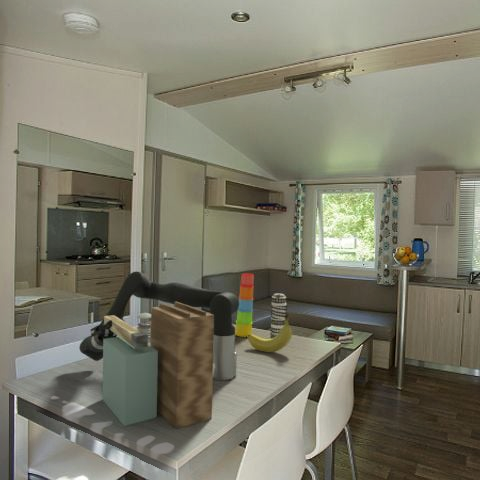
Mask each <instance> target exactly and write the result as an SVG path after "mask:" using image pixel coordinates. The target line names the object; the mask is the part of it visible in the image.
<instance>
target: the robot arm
mask: <svg viewBox="0 0 480 480" xmlns="http://www.w3.org/2000/svg"><path fill="white" fill-rule="evenodd" d="M119 289H120V290H119V291H118V294H117V295H116V297H115V300H114V301H113V303H112V304H111V307H110V309H109V310H108V312H107V314H106V315H105V316H111V315H114V316H116V317H118V318H119V319H121V320H123V321H124V322H126V321H125V319H124V316H125V312H126V308H127V306H128V303H129V301H130V299H131V297H132V296H134V297H136V298H140V299H145V298H146V299H147V300H149V299H150V300H155V301H159V302H162V303H163V302H164V303H165V304H166V303H167V304H171V305H174V302H179V303H182V304H185V305H188V306H191V307H194V308H205V309H207V308H208V309H209V313H210V314H213V315H214V341H213V363H214V364H215V368H214V373H213V380H216V381H229V379H230V380H232V379H234V378H235V377H234V376H236V377H237V357H238V354H237V352H236V350H235V349H236V348H235V347H236V346H235V345H236V344H235V343H236V341H235V340H236V335H235V332H236V326H234V325H233V321H232V320H233V319H232V318H233V317H232V315H233V314H234V313H236V312H238V310H237V309H238V307H239V298H238V296H236V295H235V294H234V293H232V292H228V291H217V290H216V291H215V290H210V289H205V288H201V287H197V286H195V285H189V284H186V283H180V282H170V283H164V284H163V283H157V282H154V281H151V280H149V279H148V278H147V277H146V276H145V275H144V274H143V273H142V272H140V271H138V270H137V271H132V272H131V273H129V274H128V275H127V277H126V278H125V280H124V281H123V284H122V285H121V287H120V288H119ZM111 327H112V320H109V321H108V322H107V323H105V324H104V318H103V319H102V320H101V322H100V324H98V325H96V326H95V327H92V328H90V335H89V336H86V337H85V338H84V339H83V340H82V341H81V342H80V344H79V351H80V353H81V354H83V355H85V356H86V357H88V358H90V360H91V359H92V360H93V361H95V362H98V361H101V360H103V339H106V338H114V337H118V335H116V334H115V333H113V332H112V331H111V330H109V329H110V328H111ZM233 377H234V378H233ZM231 378H232V379H231Z"/></svg>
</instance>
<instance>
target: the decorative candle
mask: <svg viewBox="0 0 480 480" xmlns="http://www.w3.org/2000/svg"><path fill="white" fill-rule="evenodd" d="M269 306H270V308H269V309H270V319H271V322H270V323H271V324H270V328H269V329H270V333H269V335H270V336H269V339H272V338H274V337H276V336H277V335H278V334H279V332H280V331H281V329H282V328H283V326H284V324H285V318H284V317H285V316H286V314H287V313H288V312H286V311H287V310H288V305H287V296H286V295H285V294H284V293H277V292H276V293H273V295H272V296H271V304H270V305H269Z"/></svg>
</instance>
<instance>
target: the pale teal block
mask: <svg viewBox="0 0 480 480" xmlns="http://www.w3.org/2000/svg"><path fill="white" fill-rule="evenodd" d="M157 370H158V351H157V350H155V349H154V348H152V347H151V345H147V347H142V348H134V347H133V346H132V345H130V344H129V343H128V342H126V341H125V340H123V339H122V338H121V337H119V336H117V337H114V338H106V339H103V358H102V387H101V389H102V393H101V394H102V395H101V396H102V397H101V398H102V399H101V400H102V401H103V403H105V405H106V406H107V407H108V409H110V411H111V412H112V413H113V414H114V415H115V416H116V418H117V419H118V420H119V421H120V423H121V424H122V425H123V426H124V427H126V426H131V425H134V424H137V423H138V424H139V423H142V422H145V421H149V420H152V419H156V418H157V414H158V413H157V412H158V411H157Z"/></svg>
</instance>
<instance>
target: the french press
mask: <svg viewBox="0 0 480 480" xmlns="http://www.w3.org/2000/svg"><path fill="white" fill-rule="evenodd" d="M144 303H145V304H146V298H144ZM136 318H137V319H141V320H142V319H143V320H146V319H151V313H149V312H142V313H139V314H137V316H136ZM136 329H138V330H140V331H141V332H144V333H145V334H147V335H148V341H147V345H149V346H151V320H147V322H146V321H144V322H138V324H137V326H136Z"/></svg>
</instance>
